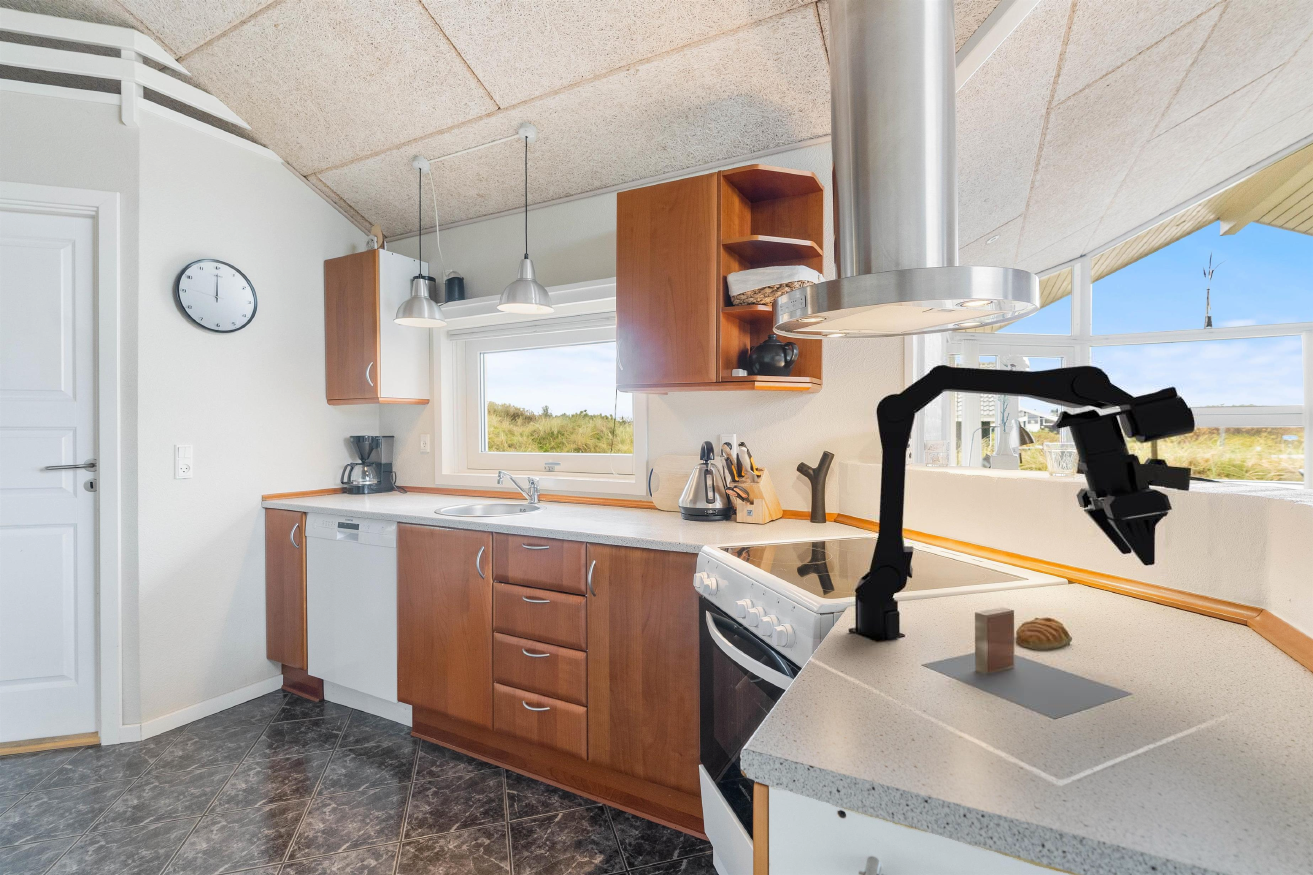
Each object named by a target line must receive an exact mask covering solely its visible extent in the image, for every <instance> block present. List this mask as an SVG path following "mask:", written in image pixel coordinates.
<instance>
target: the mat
mask: <svg viewBox="0 0 1313 875" xmlns="http://www.w3.org/2000/svg"><path fill="white" fill-rule="evenodd" d="M921 666H922V667H925V668H927V669H930V670H932V671H935V672H937V673H940V674H942V675H945V676H946V677H950V678H952V679H955V680H956V681H959V682H962V683H964V684H966V685H969V686H972V687H973V688H976V689H979V690H981V691H984V692H986V693H989V694H991V695H994V696H996V697H999V698H1000V699H1003V700H1006V701H1009V702H1011V703H1014V704H1016V705H1018V706H1021V707H1023V708H1025V709H1029V710H1031V711H1032V712H1036V713H1038V714H1041V715H1043V716H1045V717H1048V718H1050V719H1053V720H1057V719H1061V718H1063V717H1067V716H1069V715H1072V714H1075V713H1079V712H1081V711H1085V710H1088V709H1091V708H1094V707H1098V706H1100V705H1103V704H1106V703H1109V702H1112V701H1115V700H1119V699H1121V698H1124V697H1128V696H1131V695H1133V692H1131V691H1130V692H1129V691H1126V690H1124V689H1121V688H1117V687H1114V686H1111V685H1108V684H1105V683H1103V682H1100V681H1097V680H1093V679H1091V678H1090V679H1089V678H1086V677H1083V676H1081V675H1077V674H1075V673H1071V672H1068V671H1065V670H1063V669H1060V668H1057V667H1054V666H1051V665H1047V664H1045V663H1042V662H1038V661H1035V660H1032V659H1029V658H1026V657H1024V656H1020V655H1017V654H1015V668H1011V669H1007V670H1003V671H999V672H995V673H991V674H987V675H986V674H983V673H980V672H978V671H975V652H971V653H967V654H963V655H957V656H953V657H949V658H945V659H940V660H935V661H931V662H927V663H921Z"/></svg>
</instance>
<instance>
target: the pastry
mask: <svg viewBox="0 0 1313 875" xmlns="http://www.w3.org/2000/svg"><path fill="white" fill-rule="evenodd" d="M1015 635H1016V637H1015V638H1016V643H1017V645H1019V646H1020V647H1023V648H1024V647H1025V648H1028V649H1031V650H1032V649H1033V650H1040V651H1041V650H1043V651H1044V650H1045V651H1046V650H1052V649H1059V648H1062V647H1063V646H1066V645H1070V644H1071V642H1072V640H1073V637H1072V635H1071V634H1070V633H1069V630H1067V628H1066V627H1065V626H1064V624H1063V623H1062V622H1061V621H1059V620H1058V619H1055V618H1052V617H1041V618H1039V617H1034V619H1031V620H1029V621H1024V622H1023V623H1021V625H1020V626H1019V627H1018V628H1017V629H1016V634H1015Z"/></svg>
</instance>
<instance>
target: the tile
mask: <svg viewBox="0 0 1313 875" xmlns="http://www.w3.org/2000/svg"><path fill="white" fill-rule="evenodd" d="M974 653H975V671H978V672H980V673H983V674H986V675H987V674H991V673H995V672H999V671H1003V670H1007V669H1011V668H1015V655H1016V654H1015V610H1014V609H1012V608H1008V607H1004V606H1002V607H997V608H991V609H985V610H979V611H975V612H974Z"/></svg>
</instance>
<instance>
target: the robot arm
mask: <svg viewBox="0 0 1313 875" xmlns="http://www.w3.org/2000/svg"><path fill="white" fill-rule="evenodd" d="M944 392H952V393H953V392H956V393H964V394H965V393H966V394H967V393H968V394H981V395H992V396H993V395H994V396H995V395H996V396H1008V397H1009V396H1010V397H1022V398H1031V399H1035V400H1037V401H1041V402H1045V403H1049V404H1052V405H1056V406H1061V407H1065V408H1070V409H1082V408H1083V409H1084V408H1087V407H1092V408H1096V409H1099V410H1107V409H1110V408H1116V407H1118V408H1119V410H1120V411H1115V412H1110V413H1106V414H1100V413H1099V412H1098V411H1097V410H1096V409H1089V410H1084V411H1081V412H1077V413H1073V414H1072V413H1069V412H1068V411H1066V410H1063V411H1059V415H1058V417H1057V419H1056V420H1055V422H1054V423H1053V424H1052V425H1051V428H1052V429H1053V430H1058V429H1059V430H1060V429H1065V428H1069V430H1070V431H1069V432H1070V434H1071V438H1072V439H1073V443H1074V446H1075V449H1076V452H1077V455H1078V458H1079V462H1077V466H1078V469H1079V470H1081V471H1082V472H1083V474H1084V477H1085V479H1086V483H1087V486H1086V487H1083V488H1080V490H1079V491H1078V492H1077V494H1076V498H1077V501H1078V504H1079V505H1078V506H1079V507H1081V508H1082V509H1083V512H1085V514H1086V515H1087V516H1088V517H1089V518H1090V519H1091V521H1093V522H1094V523H1095V525H1096V526H1097V527H1098V528H1099V529H1100V530H1101V531H1102V532H1103V533H1104V535H1105V536H1106V537H1107V538H1108V539H1109V540H1110V542H1112V544H1113V545H1114V546H1115V548H1116V549H1118V551H1119V553H1121V554H1122V555H1127V554H1132V552H1133V554H1134V555H1135V556H1136V557H1137V558H1138V559H1139V561H1140V563H1142V564H1143V566H1153V565H1155V564H1156V561H1155V560H1156V557H1155V556H1156V554H1155V553H1156V527H1157V525H1158V524H1159V523H1160V521H1161V520H1162V519H1163V518H1165V517H1167V516H1168V514H1169V511H1171V510H1173V508H1172V504H1171V502H1170V499H1169V497H1168V494H1166V493H1164V492H1162V491H1159V490H1157V489H1154V488H1151V487H1161V488H1165V489H1172V490H1178V491H1185V492H1189V491H1190V484H1191V475H1192V467H1183V466H1174V465H1173V466H1172V465H1168V463H1167V462H1166V459H1164V458H1153V457H1152V458H1151V457H1148V458H1147V459H1146V460H1145V461H1144V463H1141V461H1140V458H1139V456H1138V455H1137V454H1135V453H1130V451H1129V449H1128V446H1127V443H1126V439H1125V436H1126V438H1128V439H1135V440H1136V441H1137V442H1138V443H1139V444H1144V443H1150V442H1154V441H1159V440H1165V439H1170V438H1175V437H1179V436H1184V435H1189V434H1192V433H1194V432H1195V426H1196V424H1195V423H1196V422H1195V418H1194V414H1193V410H1192V408H1191V407H1189V406H1188V404H1187V402H1186V401H1185V400H1184V398H1183V397H1182V396H1181V395H1179V394H1178V392H1177V388H1176V387H1175V386H1170V387H1164V388H1162V389H1158V390H1155V391H1154V392H1149V393H1146V394H1142V395H1137V396H1134V395H1132V394H1130V393H1128V392H1127V391H1125V390H1123V389H1122V388H1120V387H1118V386H1116V385H1115V384H1113V383H1112V382H1111V380H1110V377H1109V376H1108V374H1106V372H1105V371H1103V369H1102V368H1099V367H1097V366H1095V365H1094V366H1092V365H1078V366H1069V367H1059V368H1051V369H1045V370H1034V371H1031V370H1016V369H1015V370H1010V369H997V368H996V369H995V368H994V369H992V368H978V367H977V368H975V367H962V366H961V367H959V366H956V367H955V366H949V365H945V364H939V365H936V366H933V367H932V368H931V369H930V370H929V372H928V373H927V374H925V375H924V376H922V377H921V378H920V379H918V380H916V381H915V382H913V383H912V384H911V385H908V387H906V388H905V389H904V390H902V391H901V392H900V393H891V394H889V395H887V396H885V397H883V398H882V399H881V400H880V401H879V402H878V404H877V406H876V411H875V412H876V421H877V426H878V433H879V434H878V435H879V440H880V444H881V450H882V452H881V457H882V459H881V472H880V476H881V478H880V497H879V498H880V499H879V500H880V501H879V514H878V515H879V516H878V517H879V519H878V535H877V540H876V542H875V547H874V551H873V555H872V558H871V563H870V567H869V570H868V571H867V572H866V573H865V574H864V575H863V576H862V577H861V578H860V579H859V581H858V583H857V585H856V587H855V589H854V592H855V593H854V594H855V595H854V596H855V598H854V599H855V600H854V601H855V603H854V604H855V605H854V606H855V610H854V612H855V616H854V617H855V619H854V620H855V621H854V622H855V625H854V626H855V627H851V628H849V627H848V630H847V631H848V633H850V634H855V635H858V636H859V637H860V636H861V637H863V638H865V639H868V640H870V641H872V642H876V643H881V642H885V641H890V640H895V639H901V638H906V634H905V633H901V631H900V630H901V628H900V620H901V619H900V616H901V615H900V614H901V613H900V611H899V603H898V600H896V599H895V598H894V595H895V594H897V593H898V594H899V593H900V592H901V591H903V590H904V589H905V588H906V585H907V583H908V578H909V579H912V578H913V572H914V571H913V570H914V569H913V567H912V559H913V556H914V555H913V554H914V545H912V546H905V540H904V534H903V531H904V509H905V487H906V486H905V485H906V467H907V465H906V464H907V451H908V447H909V442H910V440H911V435H912V433H913V432H912V431H913V427H914V424H915V423H914V422H915V418H916V414H917V413H918V412H920V411H921V410H923V408H925V407H927V405H929V404H930V403H931V402H932V401H934V400H935V399H936V398H937V397H939V396H941V395H942V394H943V393H944ZM1118 418H1119V420H1118ZM1123 433H1124V434H1123ZM1124 435H1125V436H1124Z"/></svg>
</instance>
